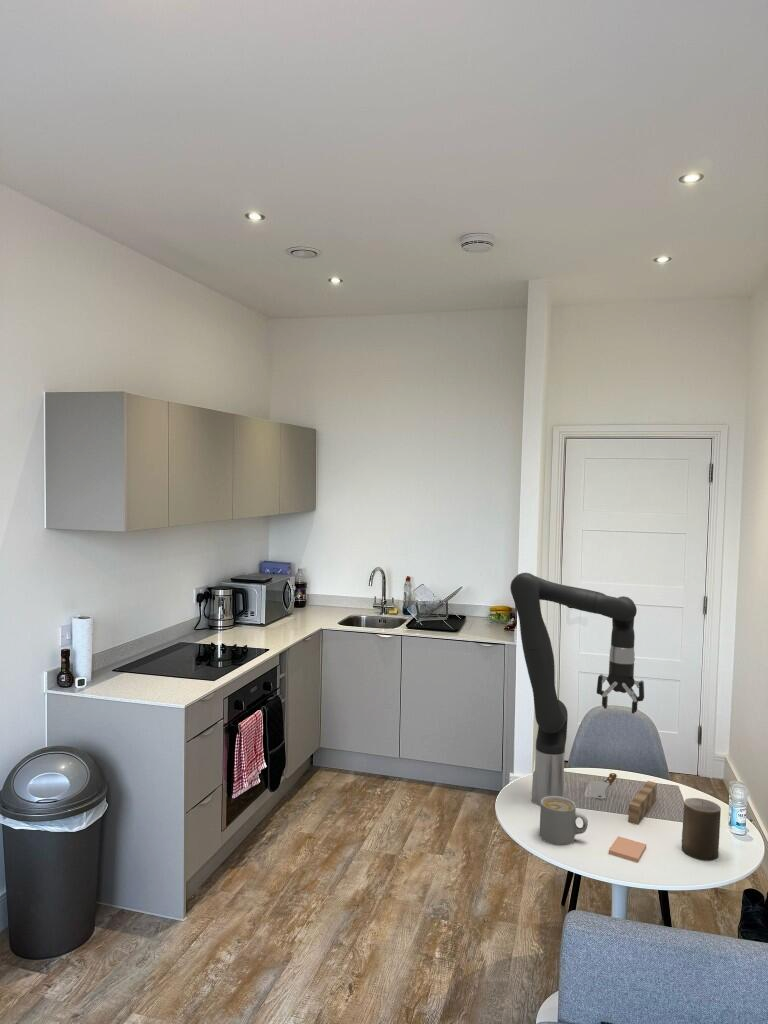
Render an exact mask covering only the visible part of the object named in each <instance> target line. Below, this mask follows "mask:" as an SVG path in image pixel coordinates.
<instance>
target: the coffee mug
mask: <svg viewBox="0 0 768 1024" xmlns="http://www.w3.org/2000/svg"><path fill="white" fill-rule="evenodd" d="M576 809H577V805H576V803H575V802H573V800H571V799H569V798H566V797H564V796H563V797H559V796H548V797H544V798H543V799H542V800H541V806H540V815H539V832H538V833H539V837H540V839H541V840H543V841H544V840H545V841H544V842H546V843H548V844H551V845H555V846H568V845H571V844H573V843H574V842H575V836H576V835H581V834H584V833H585V832H586V831H587V829H588V818H587V816H586V814H584V813H582V812H580V811H577V810H576ZM577 819H581V821H582V827H579V826H578V825H577Z"/></svg>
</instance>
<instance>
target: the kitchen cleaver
mask: <svg viewBox="0 0 768 1024" xmlns="http://www.w3.org/2000/svg"><path fill="white" fill-rule="evenodd" d="M617 776H618V775H617V774H616V773H613V772H611V773H609V775H608V777H607V778H606V780H604V781H601V780H600V781H598V780H590V781H591V783H590V784H591V790H590V792H591V794H590V796H589V797H592V798H591V799H593V798H596V799H595V800H597V799H600V800H599V801H602V800H604V801H607V797H606V794H605V793H607V790H608V789H609V787H610V786H611V785H612V784H613V783H614V781H615V780H616V778H617ZM589 797H588V798H589Z"/></svg>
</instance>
